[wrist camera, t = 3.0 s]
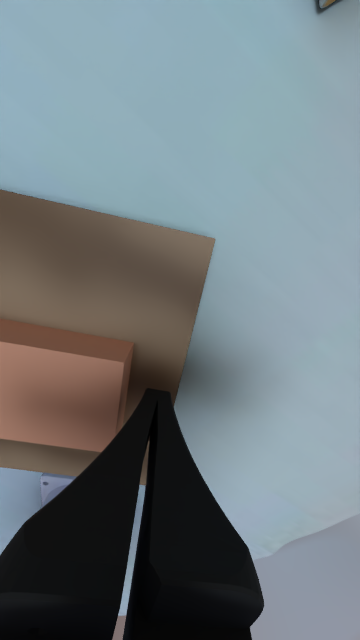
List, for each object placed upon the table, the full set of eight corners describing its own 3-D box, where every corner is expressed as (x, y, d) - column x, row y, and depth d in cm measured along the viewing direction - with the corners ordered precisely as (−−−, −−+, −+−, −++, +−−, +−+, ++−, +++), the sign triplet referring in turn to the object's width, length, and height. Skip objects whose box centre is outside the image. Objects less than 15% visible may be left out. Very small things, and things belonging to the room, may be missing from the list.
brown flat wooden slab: (157, 453, 17) (153, 486, 15) (-7, 431, 16) (-39, 462, 14) (207, 241, 11) (215, 238, 9) (-50, 183, 10) (-121, 162, 8)
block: (123, 423, 12) (112, 453, 11) (-6, 404, 12) (-41, 433, 10) (134, 342, 10) (124, 362, 9) (-20, 314, 10) (-67, 329, 8)
